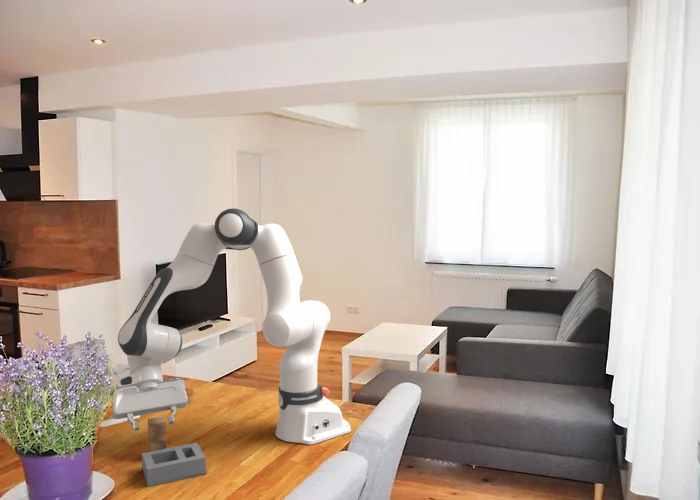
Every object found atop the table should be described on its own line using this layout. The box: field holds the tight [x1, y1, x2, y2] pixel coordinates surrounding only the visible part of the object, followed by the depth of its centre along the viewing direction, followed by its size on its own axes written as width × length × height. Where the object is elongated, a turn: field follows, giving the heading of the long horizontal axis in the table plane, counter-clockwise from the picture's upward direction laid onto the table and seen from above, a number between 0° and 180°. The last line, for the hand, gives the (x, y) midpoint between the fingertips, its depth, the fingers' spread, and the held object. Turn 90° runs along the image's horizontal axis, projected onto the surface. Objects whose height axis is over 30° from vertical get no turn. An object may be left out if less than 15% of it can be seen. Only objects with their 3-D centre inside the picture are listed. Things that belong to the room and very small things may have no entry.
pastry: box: [185, 385, 195, 403], centre depth 207 cm, size 9×7×4 cm
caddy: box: [141, 442, 207, 488], centre depth 154 cm, size 14×10×4 cm
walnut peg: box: [147, 416, 167, 452], centre depth 163 cm, size 4×4×10 cm
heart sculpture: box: [98, 360, 141, 428], centre depth 188 cm, size 16×5×18 cm, turn 131°
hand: (154, 426), depth 165 cm, fingers open, 8 cm apart
